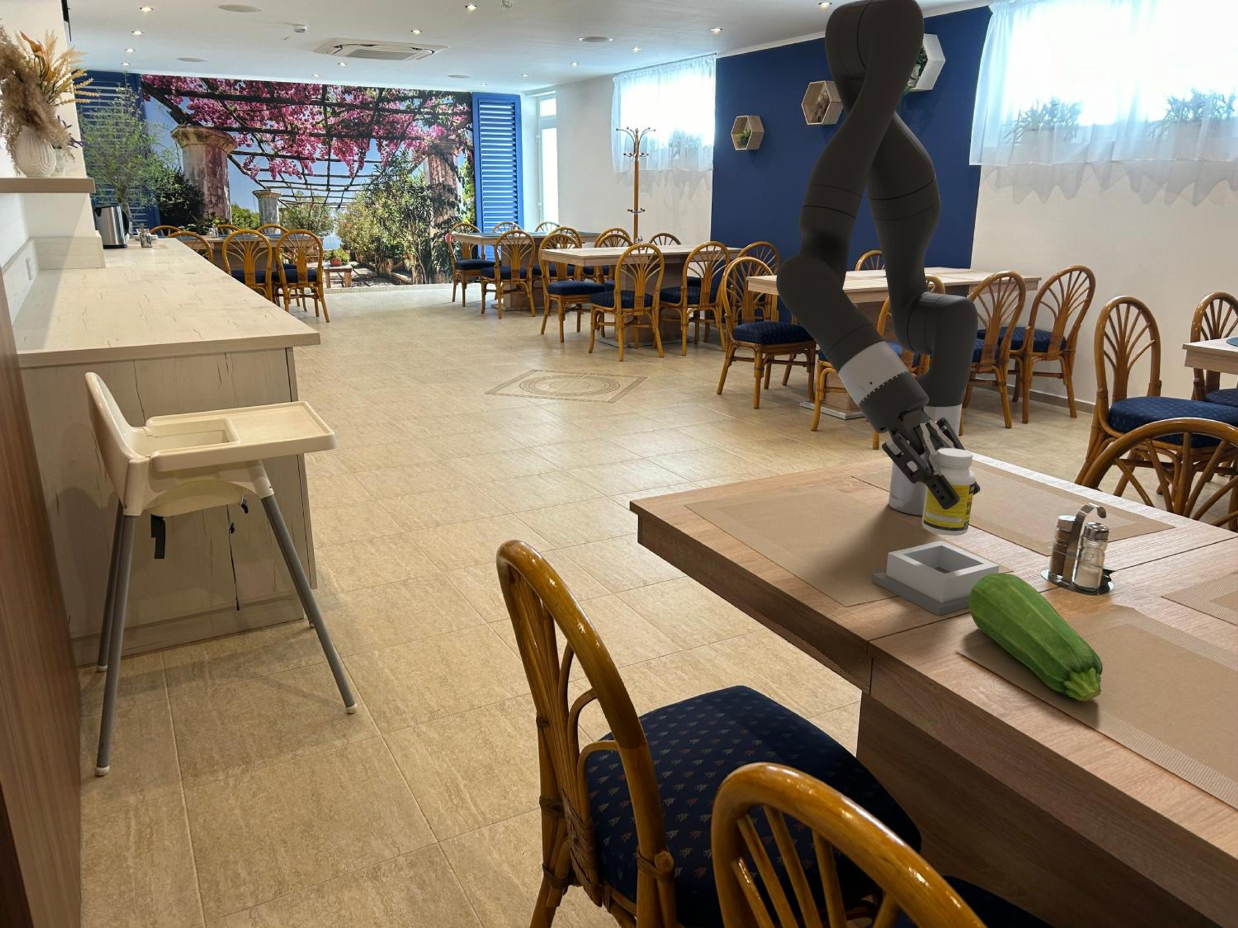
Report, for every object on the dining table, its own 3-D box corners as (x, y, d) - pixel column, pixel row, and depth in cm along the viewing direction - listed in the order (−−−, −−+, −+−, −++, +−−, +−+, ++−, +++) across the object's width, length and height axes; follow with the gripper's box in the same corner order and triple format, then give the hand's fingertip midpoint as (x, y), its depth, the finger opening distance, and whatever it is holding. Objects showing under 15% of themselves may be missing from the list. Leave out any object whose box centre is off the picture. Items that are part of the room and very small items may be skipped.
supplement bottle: (971, 539, 107) (982, 460, 104) (924, 534, 108) (934, 456, 105) (964, 523, 112) (974, 448, 110) (918, 519, 113) (928, 444, 111)
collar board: (940, 564, 120) (943, 536, 119) (1009, 596, 111) (1013, 565, 110) (872, 581, 115) (874, 552, 113) (938, 615, 105) (942, 584, 104)
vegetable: (1007, 552, 102) (1122, 636, 83) (1025, 602, 104) (1142, 695, 86) (949, 581, 102) (1050, 672, 83) (969, 630, 105) (1072, 730, 86)
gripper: (876, 376, 105) (963, 497, 100) (930, 362, 115) (1011, 472, 111) (832, 412, 110) (913, 530, 105) (887, 396, 120) (963, 502, 116)
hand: (963, 499), depth 108 cm, fingers closed on supplement bottle, 5 cm apart
